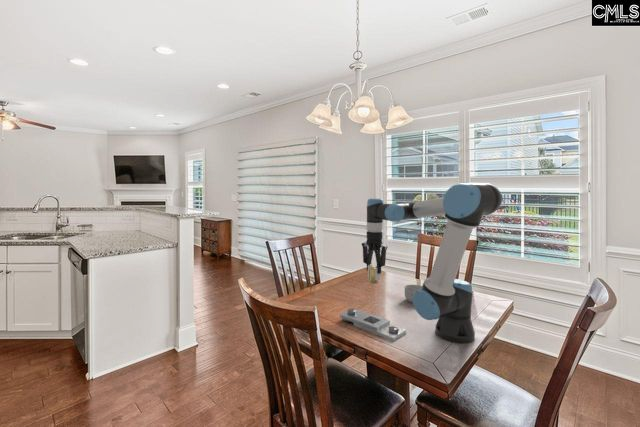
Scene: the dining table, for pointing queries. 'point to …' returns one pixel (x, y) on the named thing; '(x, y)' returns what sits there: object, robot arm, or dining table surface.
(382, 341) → the dining table surface
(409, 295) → the teacup
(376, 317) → the grey peg base plate
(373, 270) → the brass pin
